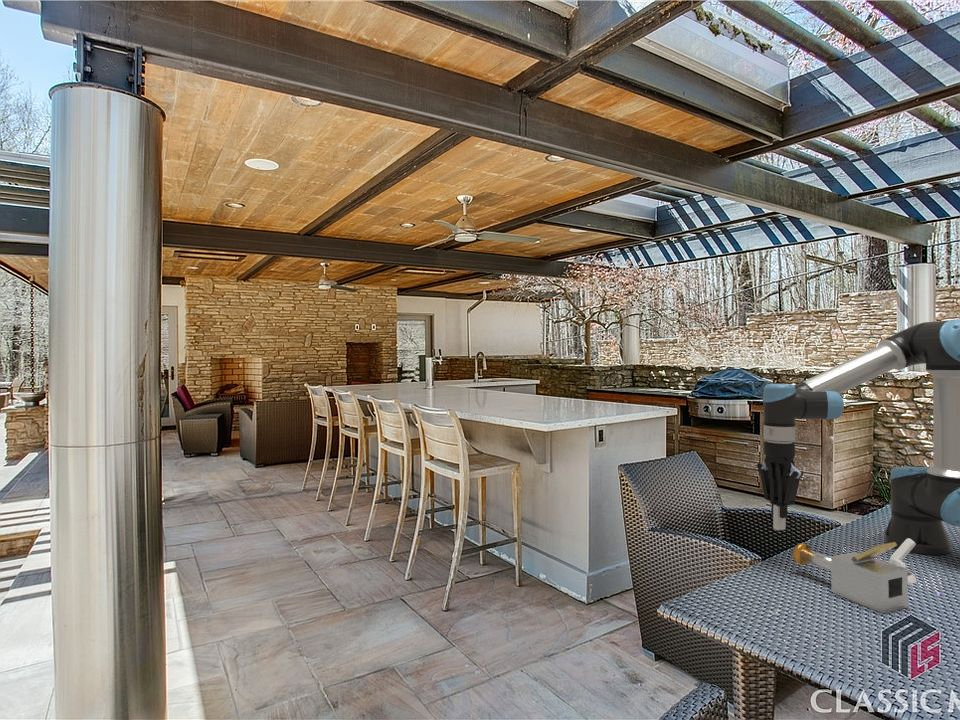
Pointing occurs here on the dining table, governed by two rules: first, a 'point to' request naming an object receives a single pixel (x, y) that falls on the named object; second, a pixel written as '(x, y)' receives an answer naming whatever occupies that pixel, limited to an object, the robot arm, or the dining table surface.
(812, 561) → the pin
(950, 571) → the dining table surface
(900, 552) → the grey ring with handle
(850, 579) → the block
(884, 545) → the plate
